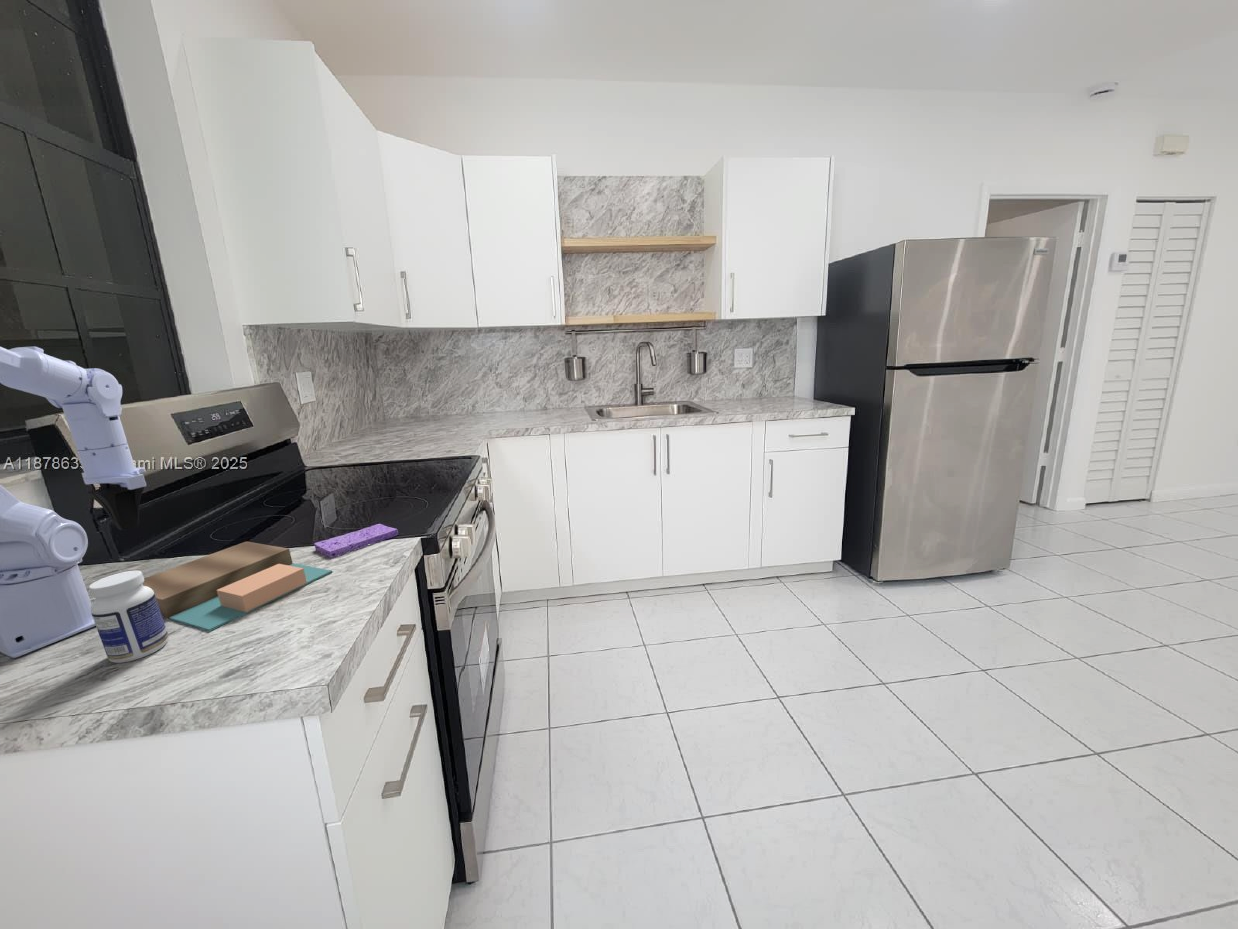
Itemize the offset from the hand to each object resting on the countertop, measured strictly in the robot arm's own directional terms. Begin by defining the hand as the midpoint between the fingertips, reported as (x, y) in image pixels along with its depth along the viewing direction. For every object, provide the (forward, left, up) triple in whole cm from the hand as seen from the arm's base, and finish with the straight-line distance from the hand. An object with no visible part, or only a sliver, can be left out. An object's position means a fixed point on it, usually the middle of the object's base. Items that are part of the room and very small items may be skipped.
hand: (128, 528), depth 82 cm
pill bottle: (-12, -26, -10) cm, 30 cm away
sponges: (+23, -23, -10) cm, 34 cm away
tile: (+3, -27, -8) cm, 28 cm away
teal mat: (+3, -25, -9) cm, 27 cm away
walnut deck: (+3, -14, -9) cm, 17 cm away
